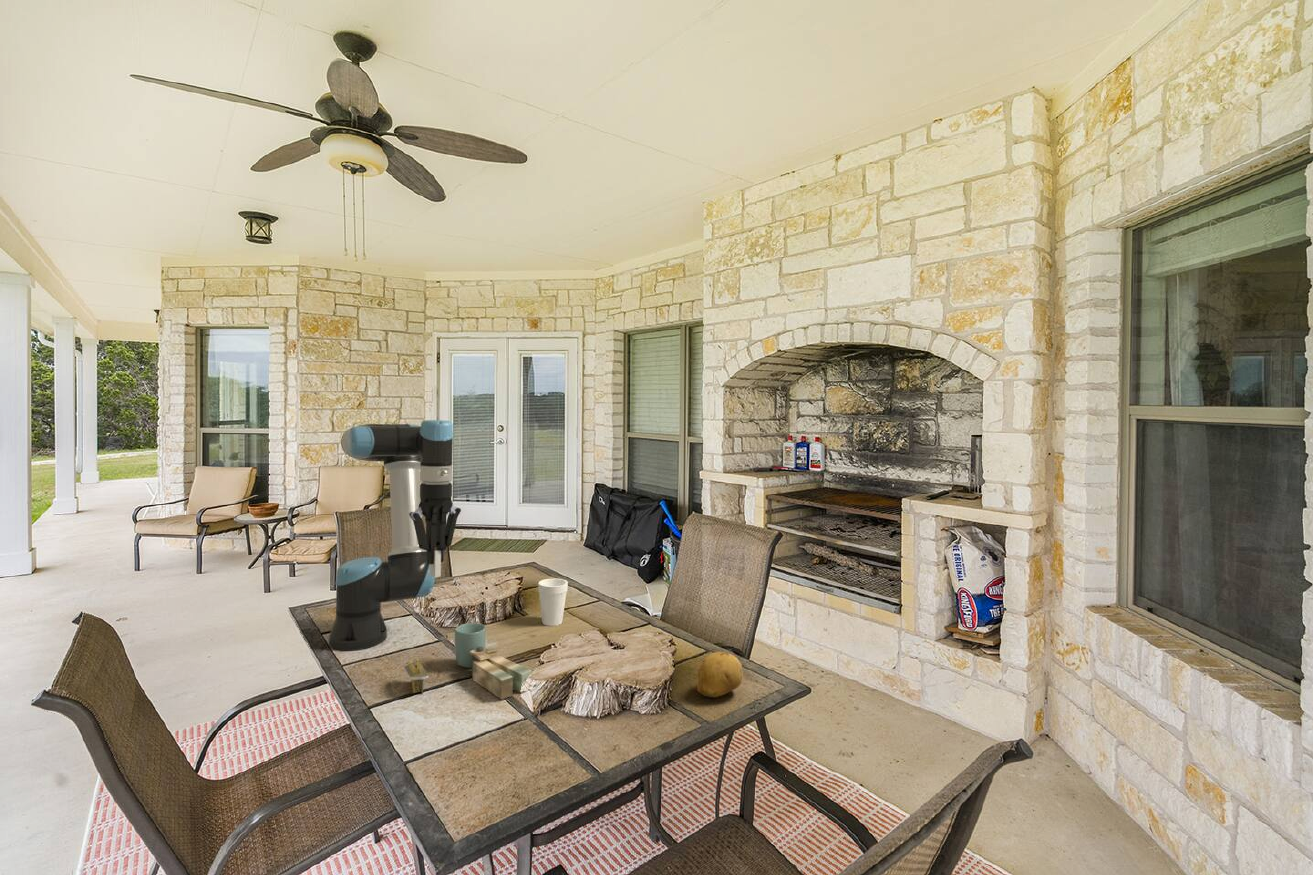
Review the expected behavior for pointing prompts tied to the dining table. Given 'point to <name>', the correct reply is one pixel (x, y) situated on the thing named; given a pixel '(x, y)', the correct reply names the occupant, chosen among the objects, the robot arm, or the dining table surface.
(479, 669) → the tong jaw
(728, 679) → the potato
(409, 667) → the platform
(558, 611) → the foam cup
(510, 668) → the tan green block
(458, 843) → the dining table surface
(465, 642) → the cup
